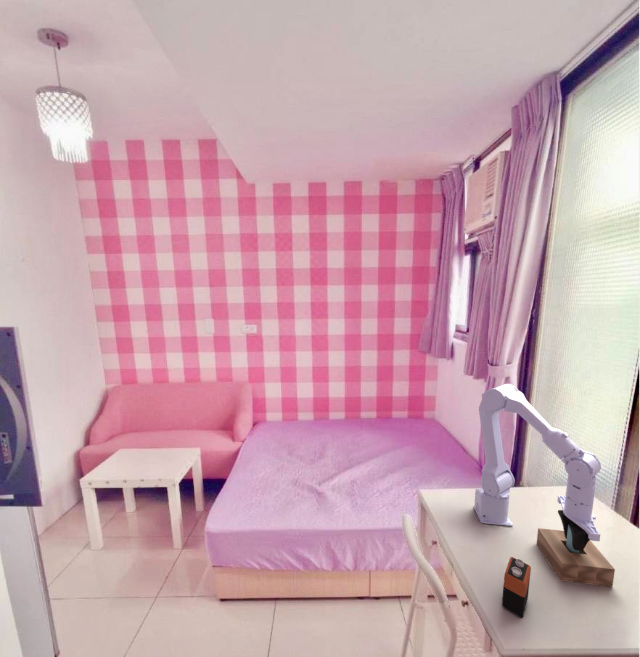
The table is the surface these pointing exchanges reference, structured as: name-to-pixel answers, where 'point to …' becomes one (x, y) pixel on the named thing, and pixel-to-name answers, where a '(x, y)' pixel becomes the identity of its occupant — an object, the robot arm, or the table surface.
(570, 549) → the teal peg
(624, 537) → the table surface
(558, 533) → the socket block
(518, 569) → the battery
